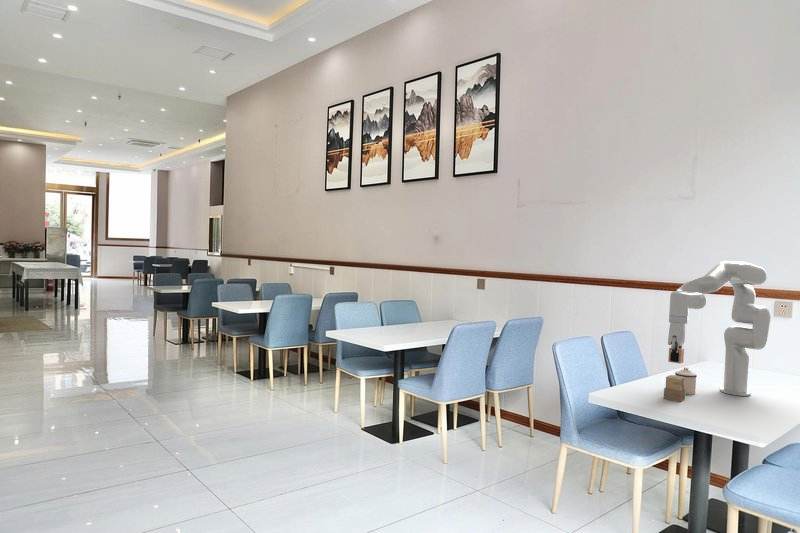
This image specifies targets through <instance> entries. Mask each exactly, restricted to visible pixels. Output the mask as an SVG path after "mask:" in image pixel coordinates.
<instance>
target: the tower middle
mask: <svg viewBox="0 0 800 533" xmlns="http://www.w3.org/2000/svg"><path fill="white" fill-rule="evenodd" d="M673 375H674V374H670V375H669V374H668V375H667V376H666V377H665V387H664V388H667V389H673V390H678V391H681V390H683V389H684V380H685V377H679V376H673Z"/></svg>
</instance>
